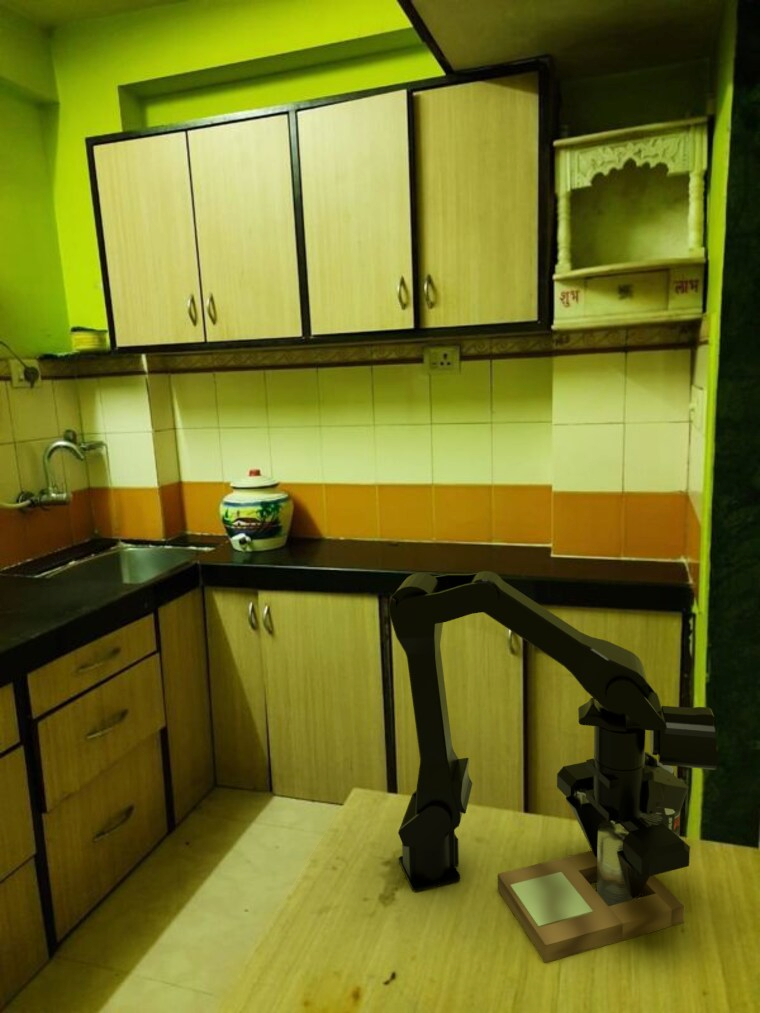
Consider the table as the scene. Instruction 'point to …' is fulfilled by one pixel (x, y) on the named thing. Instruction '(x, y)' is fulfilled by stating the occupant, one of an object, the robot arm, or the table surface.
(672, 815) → the supplement bottle
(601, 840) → the clear glass jar
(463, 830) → the table surface
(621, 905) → the pocket block
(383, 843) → the table surface
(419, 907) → the table surface
